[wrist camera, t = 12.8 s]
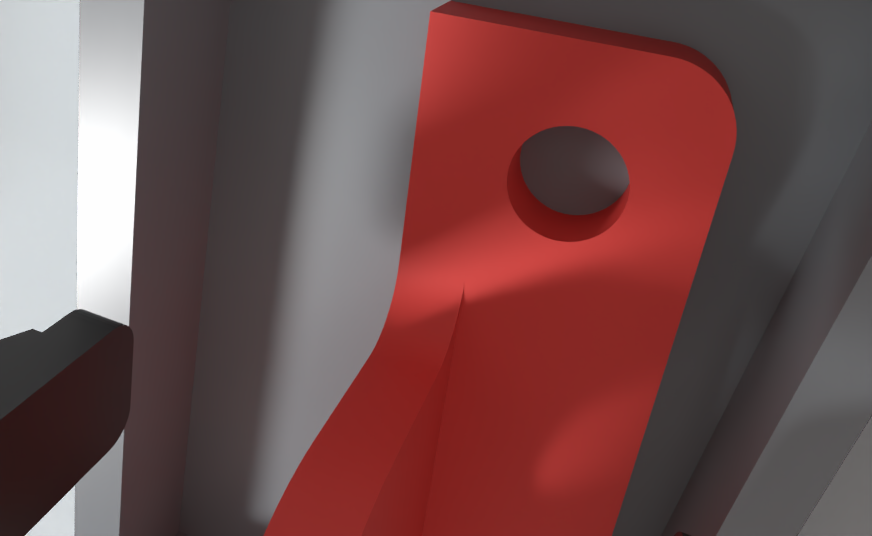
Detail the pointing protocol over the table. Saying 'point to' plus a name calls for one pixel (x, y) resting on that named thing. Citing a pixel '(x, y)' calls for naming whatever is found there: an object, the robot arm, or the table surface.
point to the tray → (382, 237)
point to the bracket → (523, 290)
